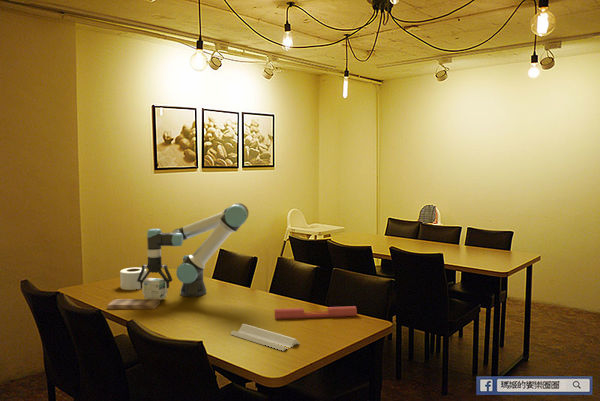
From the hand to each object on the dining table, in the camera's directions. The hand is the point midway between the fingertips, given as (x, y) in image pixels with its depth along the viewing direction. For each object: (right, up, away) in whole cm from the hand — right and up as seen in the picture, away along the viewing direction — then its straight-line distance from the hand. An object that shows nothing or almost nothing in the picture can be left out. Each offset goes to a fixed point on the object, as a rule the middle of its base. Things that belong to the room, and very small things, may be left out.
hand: (155, 293), depth 275 cm
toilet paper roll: (-22, -1, +28) cm, 36 cm away
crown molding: (+67, -9, -59) cm, 90 cm away
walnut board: (-8, -4, -12) cm, 15 cm away
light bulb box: (0, -3, 0) cm, 3 cm away
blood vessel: (+91, -7, -28) cm, 95 cm away
